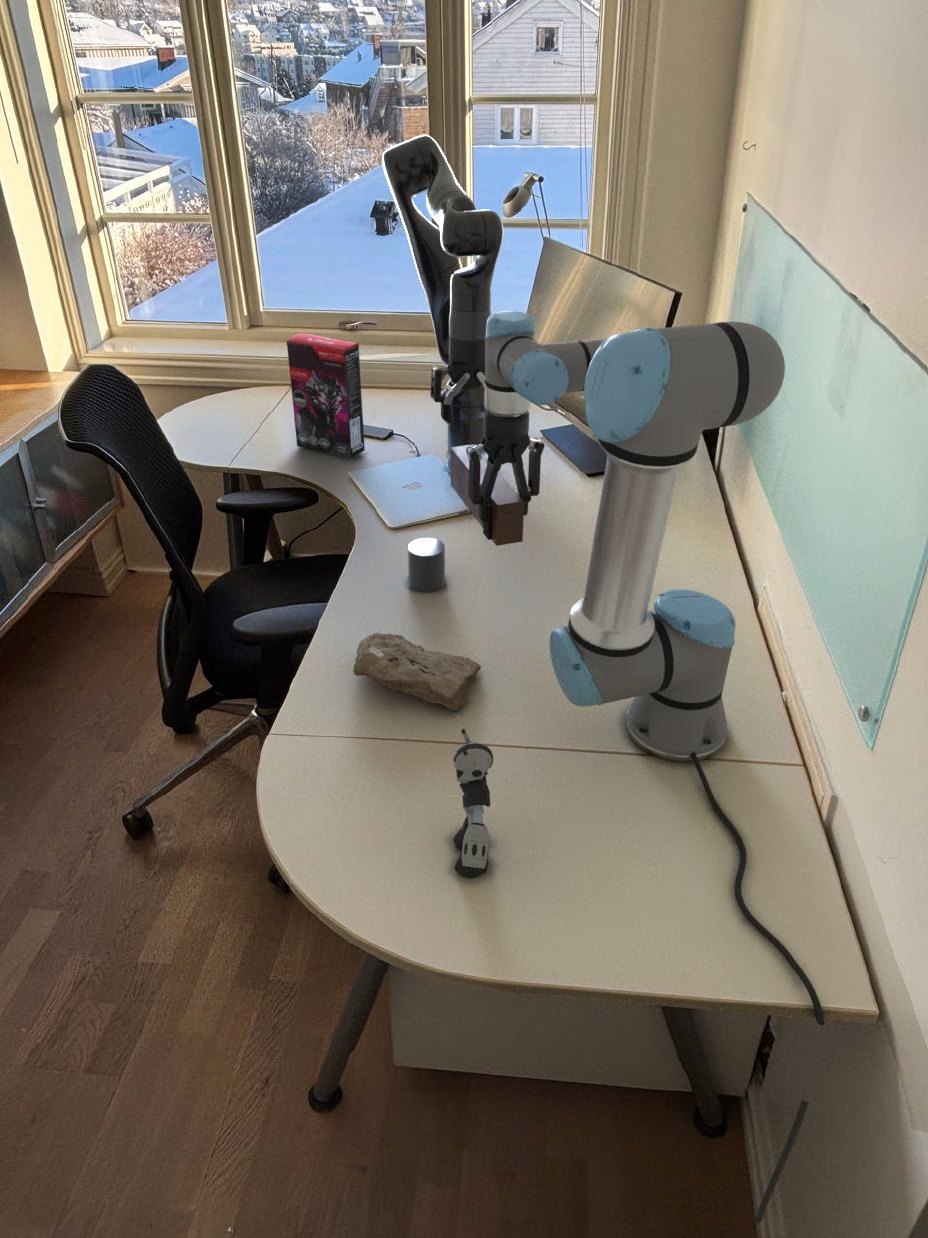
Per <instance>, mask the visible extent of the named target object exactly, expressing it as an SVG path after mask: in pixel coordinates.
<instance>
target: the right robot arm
mask: <svg viewBox="0 0 928 1238" xmlns="http://www.w3.org/2000/svg"><path fill="white" fill-rule="evenodd" d="M535 333H536V332H535V325H534V318H533V317H532V316H531V314H528V313H526V312H523V311H517V310H504V311H497V312H494V313H491V316H489V318H488V320H487V325H486V336H485V408H486V410H485V411H484V437H483V439H482V441H481V444H480V445H478V446H476V447H474V448H472V447H470V446H469V447H467V449H466V452H467V455H468V457H469V490H468V497H469V499H470V500H471V501H472V503H473V504H474V505H477V504H479V518H480V520H481V521H482V522H483V527H482V534H483V535H484V537H485V538H486V539H487V540H488V541H492V527H493V506H492V505H491V503H490V499H491V495H492V492H493V488H494V485H495V481H496V478H497V474H498V472H500V471H501V468H502V466H503V465H505V464H511V467H512V471H513V472H512V473H513V475H514V480H515V484H516V489H517V493H518V494H519V496H520V497H521V498H522V499H523V500H524V517H526V516H528V514H529V503H531V501H532V497H538V496H539V494H540V488H541V486H540V485H541V462H542V454H543V452H544V449H545V446H546V445H545V443H544V442H543V441H542V440H541V439H540V438H538V437H535V438H531V437H530V435H529V430H530V413H531V412H530V411H529V410H530V408H531V404H534V405H537V406H548V405H549V406H550V405H551V404H553V403H555V402H556V401H557V400H559V399H561V398H562V396H563V395H564V394H570V393H579V392H583V400H584V401H585V402H586V404H585V407H584V413H585V418H586V422H587V425H588V427H589V429H590V431H591V432H592V434H593V435H594V437H596V438H597V443H598V445H599V447H600V449H601V450H602V451H603V452H604V453H605V454H606V456H607V457H606V463H605V469H604V473H603V474H604V475H603V481H602V486H601V493H600V499H599V504H598V511H597V517H596V523H595V529H594V534H593V541H592V545H591V546H592V547H591V553H590V559H589V564H588V565H589V566H588V570H587V576H586V577H587V578H586V583H585V590H584V595H583V597H582V598H580V599H579V600H577V601H576V602H575V604H574V605H573V606H572V607H571V609H570V613H569V619H568V624H567V625H566V626H563V625H560V626H558V627H557V628H555V629H553V630H551V632H550V634H549V639H548V648H549V654H550V660H551V664H552V668H553V671H554V675H555V677H556V680H557V682H558V685H559V687H560V689H561V691H562V692H563V694H564V696H565V697H566V698H567V700H568V701H569V702H570V703H571V704H573V705H574V706H577V707H581V708H584V707H592V706H603V705H605V704H609V703H614V702H618V701H623V700H626V699H627V700H628V699H632V698H633V699H632V701H631V702H630V704H629V706H628V708H627V713H626V719H625V728H626V732H627V734H628V736H629V738H630V739H631V741H632V742H634V744H636V745H637V746H638V747H639V748H640V749H641V750H643V751H645V752H646V753H648V754H650V755H651V756H654V757H656V758H659V759H662V760H666V761H670V762H675V763H693V764H694V767H695V769H696V771H697V774H698V776H699V778H700V781H701V784H702V786H703V789H704V792H705V794H706V796H707V798H708V800H709V802H710V804H711V806H712V808H713V810H714V811H715V813H716V814H717V816H718V817H719V819H720V820H721V821H722V822H723V823H724V825H725V826H726V827H727V829H728V830H729V832H730V833H731V834H732V836H733V838H734V839H735V842H736V844H737V846H738V851H739V863H738V869H737V872H736V876H735V880H734V895H735V896H734V897H735V900H736V902H737V905H738V907H739V909H740V911H741V913H742V914H743V915H744V917H745V918H746V919H747V921H748V922H749V923H750V924H751V925H752V926H753V927H754V929H756V930H757V931H758V932H759V934H761V935H762V936H763V937H764V938H765V939H766V940H768V941H769V942H770V943H771V944H772V945H773V946H774V947H775V948H776V949H777V950H778V951H779V952H780V954H781V955H782V956H783V957H784V959H785V960H786V961H787V962H788V964H789V965H790V967H791V968H792V970H793V971H794V972H795V974H796V975H797V977H798V978H799V979H800V981H801V982H802V984H803V985H804V987H805V989H806V991H807V993H808V995H809V998H810V1000H811V1003H812V1006H813V1011H814V1015H815V1019H816V1022H817V1024H818V1025H819V1026H824V1025H825V1017H824V1012H823V1009H822V1005H821V1002H820V999H819V996H818V993H817V991H816V989H815V988H814V986H813V983H812V982H811V980H810V979H809V977H808V976H807V974H806V973H805V972H804V970H803V968H801V966H800V965H799V963H798V962H797V960H796V959H795V958H794V956H793V955H792V954H791V953H790V951H789V950H788V949H787V948H786V946H784V945H783V943H782V942H781V941H780V940H779V939H778V938H777V937H775V935H774V934H772V933H771V931H769V930H768V929H767V928H766V927H765V926H763V925H762V924H761V923H760V921H758V919H756V918H755V916H754V915H753V914H752V912H751V911H750V910H749V908H748V906H747V905H746V903H745V900H744V898H743V893H742V892H743V891H742V884H743V879H744V874H745V871H746V867H747V858H748V856H747V855H748V854H747V849H746V846H745V843H744V841H743V839H742V836H741V835H740V833H739V831H738V829H737V828H736V826H735V825H734V824H733V822H732V821H731V820H730V819H729V818H728V816H727V815H726V814H725V812H724V811H723V810H722V808H721V807H720V806H719V803H718V802H717V800H716V798H715V796H714V794H713V791H712V789H711V786H710V784H709V781H708V779H707V776H706V774H705V772H704V770H703V767H702V764H701V762H700V761H703V760H706V759H709V758H711V757H714V755H716V754H718V752H720V751H721V750H722V748H723V747H724V744H725V743H726V740H727V739H726V738H727V733H728V721H727V716H726V712H725V708H724V707H725V706H724V701H723V692H724V686H725V682H726V678H727V677H726V676H727V672H728V668H729V663H730V659H731V654H732V651H733V650H732V649H733V647H734V645H735V642H736V641H735V634H736V617H735V616H734V614H733V612H732V611H731V609H730V608H729V607H728V606H727V605H726V604H724V603H723V602H722V601H720V600H719V599H717V598H715V597H713V596H711V595H709V594H706V593H703V592H700V591H697V590H692V589H683V588H677V589H676V588H675V589H667V590H665V591H663V592H661V593H660V594H659V595H658V596H657V597H656V599H655V600H654V602H653V609H652V610H649V609H648V608H649V604H650V600H651V595H652V590H653V587H654V581H655V577H656V572H657V568H658V564H659V560H660V555H661V552H662V551H661V550H662V546H663V542H664V538H665V534H666V529H667V524H668V520H669V515H670V512H671V506H672V503H673V497H674V493H675V488H676V485H677V481H678V480H677V479H678V475H679V471H680V467H682V466H684V465H687V464H688V463H690V462H691V461H692V460H693V459H694V458H695V456H696V454H697V452H698V447H699V443H700V439H701V436H702V433H703V431H704V430H712V429H713V430H714V429H719V428H726V427H731V426H737V425H740V424H743V423H746V422H749V421H750V420H752V419H755V418H756V417H757V416H760V415H761V414H763V412H765V411H766V410H767V409H768V408H770V406H771V405H772V404H773V402H774V401H775V400H776V399H777V396H778V395H779V393H780V391H781V389H782V386H783V383H784V380H785V375H786V374H785V373H786V365H785V364H786V363H785V357H784V353H783V351H782V348H781V347H780V345H779V342H778V341H777V340H776V339H775V338H774V336H773V335H771V333H769V332H768V331H767V330H765V328H762V327H760V326H757V325H755V324H753V323H748V322H741V321H733V320H732V321H719V322H714V323H713V322H712V323H703V324H702V323H701V324H691V325H682V326H681V325H680V326H670V327H659V328H655V327H642V328H639V329H638V328H637V329H635V330H634V331H633V330H632V331H626V332H620V333H616V334H614V335H611V336H610V337H603V338H595V339H587V340H586V339H585V340H573V341H564V342H562V341H561V342H552V343H539V342H538V341H537V340H535V338H534V335H535ZM527 449H528V450H529V451H528V470H527V471H528V472H527V473H528V474H527V478H526V474H525V469H524V461H523V460H524V459H523V454H524V453H525V452H526V450H527ZM484 451H485V452H486V456H487V467H486V471H485V474H484V478H483V482H482V485H481V489H480V470H481V464H480V460H481V459H482V453H483V452H484ZM809 1103H810V1102H809V1101H806V1100H801V1101H800V1104H799V1107H798V1110H797V1113H796V1116H795V1118H794V1121H793V1124H792V1126H791V1129H790V1132H789V1133H788V1137H787V1140H786V1142H785V1144H784V1147H783V1149H782V1152H781V1154H780V1156H779V1159H778V1161H777V1163H776V1166H775V1168H774V1170H773V1172H772V1175H771V1177H770V1179H769V1181H768V1184H767V1187H766V1189H765V1191H764V1194H763V1197H762V1199H761V1201H760V1204H759V1207H758V1210H757V1211H756V1215H755V1218H754V1221H755V1223H756V1224H761V1223H762V1221H763V1219H764V1216H765V1212H766V1210H767V1207H768V1205H769V1203H770V1200H771V1198H772V1195H773V1193H774V1192H775V1188H776V1186H777V1184H778V1181H779V1179H780V1177H781V1174H782V1173H783V1170H784V1167H785V1165H786V1163H787V1161H788V1158H789V1156H790V1153H792V1152H791V1151H792V1150H793V1147H794V1144H795V1143H796V1140H797V1137H798V1135H799V1132H800V1129H801V1127H802V1124H803V1121H804V1119H805V1116H806V1113H807V1110H808V1106H809Z"/></svg>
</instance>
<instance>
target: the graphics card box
mask: <svg viewBox="0 0 928 1238" xmlns="http://www.w3.org/2000/svg"><path fill="white" fill-rule="evenodd" d="M286 347H287V359H288V369H289V378H290V389H291V397H292V407H293V418H294V419H293V420H294V428H295V438H296V439H295V441H296V447H299V448H303V449H307V450H310V451H315V452H320V453H323V454H324V453H325V454H329V455H332V456H336V457H341V458H346V459H353V458H354V457H356V456H358V455H360V454H362V453H363V452H365V447H366V446H365V430H364V415H363V414H364V413H363V398H362V381H361V380H362V379H361V363H360V344H359V342H351V341H346V340H342V339H341V340H340V339H336V338H330V337H325V336H319V335H314V334H308V333H304V332H300V333H298V334H295V335H293V336H292V337H290V338H289V339H288V340H287V341H286Z"/></svg>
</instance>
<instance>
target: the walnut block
mask: <svg viewBox="0 0 928 1238" xmlns="http://www.w3.org/2000/svg"><path fill="white" fill-rule="evenodd" d="M469 446H470V447H472V448H474V447H476V445H475V444H474V445H466V446H458V447H451V473H450V486H451V488H452V489H453V490H454V492H455V493H456V494H457V496H458V497H459V498H460V499H461V501H462V502H463V504H464V505H465V506H466V507H467V509H468V510H469V512H470V513H471V514H472V516H473V517H474V518H475V519H476V521H477V522H478V524H479V525H480V526H481V528H483V522H482V521H481V520H480V518H479V504H477V505H474V504H473V503H472V501H471V500H470V499H469V497H468V490H469V457H468V455H467V452H466V449H467V447H469ZM487 459H488V457H487V456H486V457H485V455H484V454H483V453H482V459H481V460H480V464H481V470H480V489H481V485H482V482H483V478H484V474H485V471H486V467H487ZM490 503H491V505H492V506H493V527H492V540H491V541H492V543H494V545H495V546H496V547H499V546H504V545H511V544H517V543H522V542H523V541H524V540H523V539H524V520H525V519H524V518H525V516H524V500H523V499H522V498H521V497H520V496H519V493H518V491H516V489H514V488H513V486H512V485H511V483H509V481H508V480H506V479H505V477H504V476H503V475H502V474H501V473H500V471H498V474H497V478H496V481H495V485H494V488H493V492H492V495H491V499H490Z"/></svg>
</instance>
